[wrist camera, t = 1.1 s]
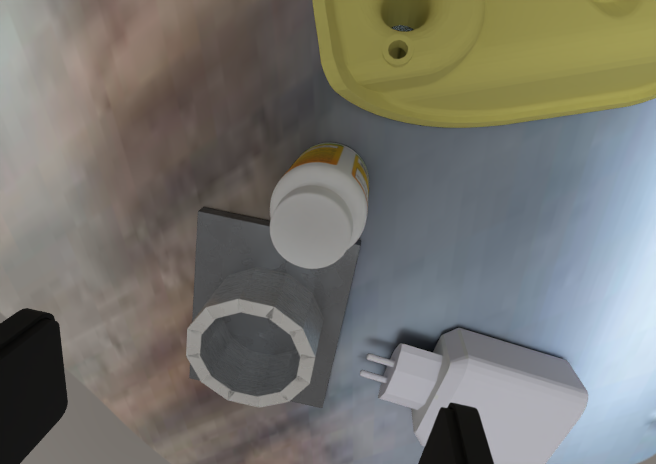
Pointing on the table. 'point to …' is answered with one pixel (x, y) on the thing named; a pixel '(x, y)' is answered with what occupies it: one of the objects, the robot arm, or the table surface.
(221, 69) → the table surface
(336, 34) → the plastic component
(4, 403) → the robot arm
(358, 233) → the supplement bottle
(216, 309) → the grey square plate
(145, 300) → the table surface
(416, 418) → the charger
